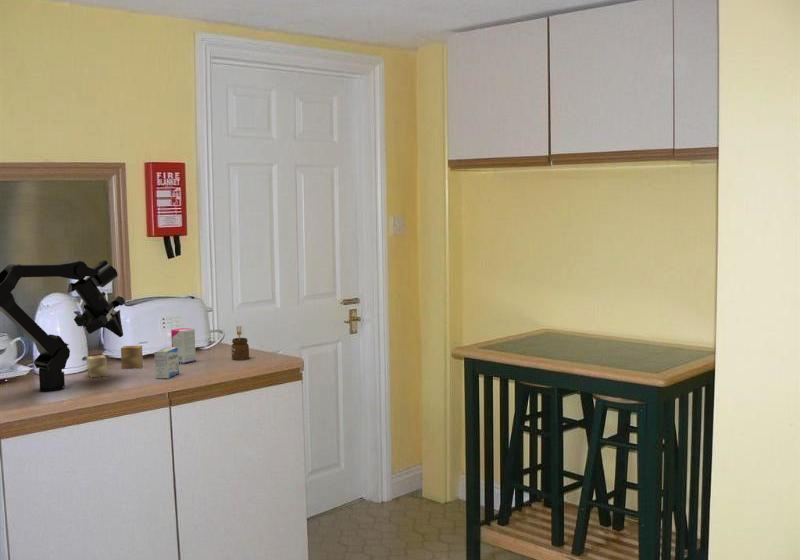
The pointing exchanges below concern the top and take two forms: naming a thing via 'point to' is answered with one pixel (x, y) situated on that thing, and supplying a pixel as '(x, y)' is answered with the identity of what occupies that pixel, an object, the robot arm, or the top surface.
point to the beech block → (97, 366)
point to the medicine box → (166, 362)
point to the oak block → (131, 357)
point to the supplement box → (184, 344)
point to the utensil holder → (240, 347)
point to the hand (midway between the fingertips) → (121, 336)
